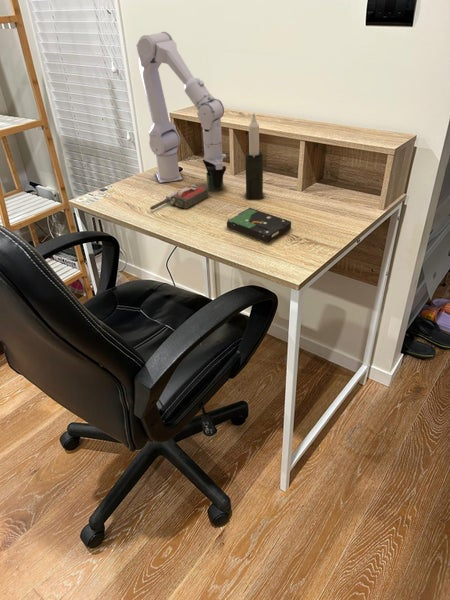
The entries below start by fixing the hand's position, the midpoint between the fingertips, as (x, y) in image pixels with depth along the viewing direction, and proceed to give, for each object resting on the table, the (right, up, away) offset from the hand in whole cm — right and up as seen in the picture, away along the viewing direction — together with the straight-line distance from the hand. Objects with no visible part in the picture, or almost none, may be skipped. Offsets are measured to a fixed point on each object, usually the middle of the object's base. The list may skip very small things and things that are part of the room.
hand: (215, 184), depth 149 cm
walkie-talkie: (-10, -8, -8) cm, 16 cm away
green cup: (0, -1, +1) cm, 1 cm away
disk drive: (+13, -19, -24) cm, 33 cm away
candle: (+13, -6, -6) cm, 15 cm away
